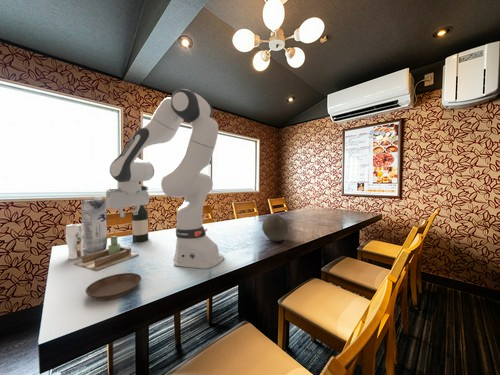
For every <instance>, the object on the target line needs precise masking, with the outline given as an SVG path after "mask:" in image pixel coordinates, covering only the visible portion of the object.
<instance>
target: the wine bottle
mask: <svg viewBox="0 0 500 375" xmlns="http://www.w3.org/2000/svg"><path fill="white" fill-rule="evenodd" d="M133 211H135V208H134V209H133ZM133 211H132V213H131V223H132V224H131V226H132V227H131V228H132V243H136V242H137V243H143V242H144V243H145V242H147V241H148V240H149V215H148V214H149V213H148V210H147V209H146V207H145V205H140V208H139V210H138V215H133Z"/></svg>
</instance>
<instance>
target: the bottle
mask: <svg viewBox="0 0 500 375" xmlns="http://www.w3.org/2000/svg"><path fill="white" fill-rule="evenodd" d="M120 246H121V244H120V243H118V236H117V235H113V236H111V237H110V244H109V245H108V247H107V249H109V255H112V254H115V253H118V252H120Z"/></svg>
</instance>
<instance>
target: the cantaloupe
mask: <svg viewBox="0 0 500 375" xmlns="http://www.w3.org/2000/svg"><path fill="white" fill-rule="evenodd" d="M261 228H262V232H263V234H264V235H265V237H266V238H268V239H269V240H270V241H272V242H281V241H283V240H284V239H285V238H286V237H287V235H288V232H289V230H288V223H287V222H286V220H285V219H284V218H283V217H282V216H280V215H277V214H274V215H269V216H267V217H266V218H265V219H264V220H263V222H262V226H261Z"/></svg>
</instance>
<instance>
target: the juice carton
mask: <svg viewBox="0 0 500 375" xmlns="http://www.w3.org/2000/svg"><path fill="white" fill-rule="evenodd" d="M80 212H81V224H85V242H84V251H87V252H88V253H93V252H94V253H95V252H99V251H103V250H107V244H108V227H107V226H108V224H107V222H108V221H107V219H108V218H107V208H106V199H102V197H99V196H96V197H94V199H83V200H81V211H80ZM102 249H103V250H102Z"/></svg>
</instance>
